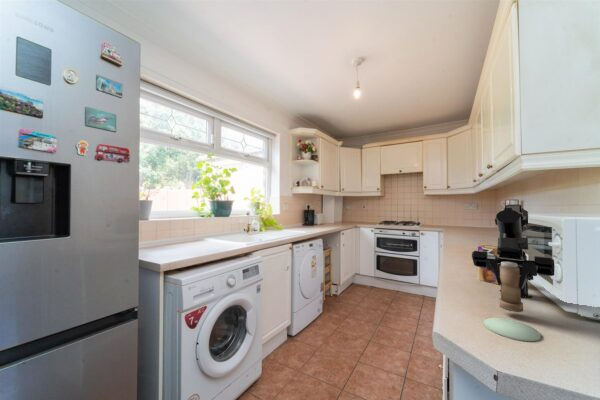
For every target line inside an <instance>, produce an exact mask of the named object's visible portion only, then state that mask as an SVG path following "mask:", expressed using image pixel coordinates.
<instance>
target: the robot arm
mask: <svg viewBox="0 0 600 400" xmlns="http://www.w3.org/2000/svg"><path fill="white" fill-rule="evenodd" d="M522 205H523V204H519V203H517V204H506V205H504V208H503V210H500V211H498V212H497V213H496V215H495V218H494V223H495V226H496V227H497V229H498V232H499V237H498V238H497V245H496V246H497V254H499V255H498V257H497V256H495V255H488V252H486V251H478V250H474V251H472V252H471V259H472V262H473V266H475V267H477V268H479V267H485V268H486V267H487V269H488V270H491V271H492V273H493V274H494V276H495V278H496V280H497V283H498V284H497V285H498V286H499V287H501V286H500V265H501V262H514V263H517V267H518V268H519V272H520V292H521V298H533V295H532V294H530V293H529V287H528V286H529V284H528V283H529V281H534V277H538V275H539V276H548V277H553V276H555V266H556V265H555V259H554V258H552V257H550V256H549V257H548V256H541V255H534V258H533V259H534V260H529V259H528V257H527V255H526V254H527V253H526V252H525V251H524V250H529V238H528V237H523V232H525V231H526V230H527V227H528V218H529V211H527V210H525V209H524V208H523V206H522ZM499 292H500V293H501V289H499Z"/></svg>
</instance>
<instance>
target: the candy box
mask: <svg viewBox="0 0 600 400" xmlns="http://www.w3.org/2000/svg"><path fill="white" fill-rule="evenodd" d="M497 246H498V245H493V244H484V243H480V244H477V251H486V252H488V255H495V256H497V257H498V255H499V254H497ZM478 280H479V281H480V282H481V281H482V282H486V283H491V284H493V285H494V284H496V285H498V283H497V280H496V278H495V276H494V274H493V273H492V271H491V270H488V269H487V267H486V268H485V267H478Z"/></svg>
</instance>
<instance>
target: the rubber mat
mask: <svg viewBox="0 0 600 400" xmlns="http://www.w3.org/2000/svg"><path fill="white" fill-rule="evenodd" d="M483 324H484V326H485V328H486V329H487V330H489V331H490V332H493V333H494V334H495V335H496V334H497V335H499V336H501V337H505V338H508V339H511V340H515V341H521V342H537V341H540V340H541V338H542V337H541V335H542V334H541V333H540V331H538V330H537V329H535V328H534V327H533V326H530V325H528V324H526V323H523V322H521V321H516V320H514V319H510V318H509V319H507V318H502V317H489V318H486V319H484V321H483Z"/></svg>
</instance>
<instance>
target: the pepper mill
mask: <svg viewBox="0 0 600 400" xmlns="http://www.w3.org/2000/svg"><path fill="white" fill-rule="evenodd" d="M499 287H500V290H501V292H500V298H498V299H499V308H501V309H502V310H505V311H508V312H513V313H514V312H515V313H522V312H524V304H523V302H522V297H521V292H520V272H519V268H518V267H517V263H514V262H501V265H500V286H499Z"/></svg>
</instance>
